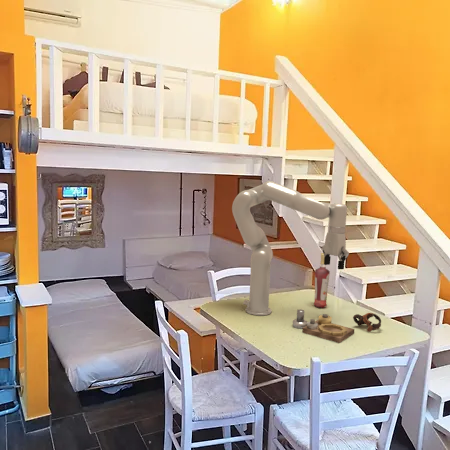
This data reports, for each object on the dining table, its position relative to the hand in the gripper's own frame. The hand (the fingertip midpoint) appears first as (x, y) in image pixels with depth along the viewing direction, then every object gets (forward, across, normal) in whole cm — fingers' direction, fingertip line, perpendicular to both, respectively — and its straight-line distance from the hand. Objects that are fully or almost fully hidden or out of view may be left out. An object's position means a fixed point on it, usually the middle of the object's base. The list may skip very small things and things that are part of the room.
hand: (333, 266), depth 203 cm
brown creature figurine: (+25, +16, +8) cm, 31 cm away
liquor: (+26, -17, +8) cm, 32 cm away
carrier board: (+25, +14, -13) cm, 32 cm away
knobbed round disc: (+26, +3, -20) cm, 32 cm away
